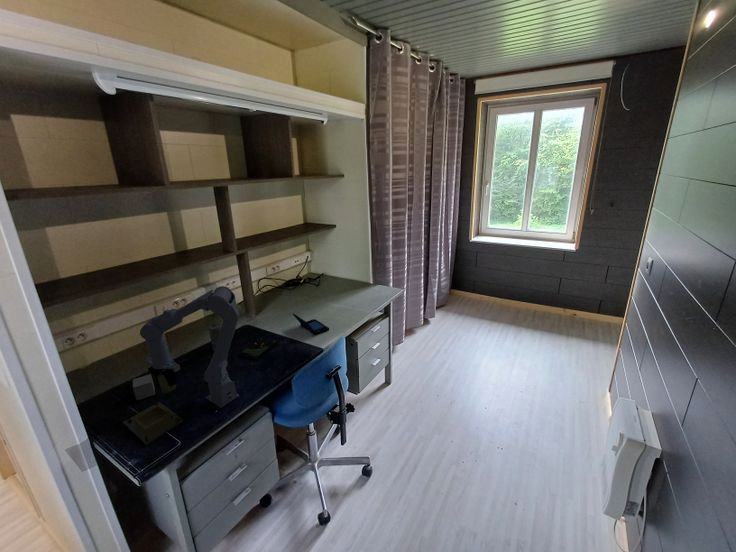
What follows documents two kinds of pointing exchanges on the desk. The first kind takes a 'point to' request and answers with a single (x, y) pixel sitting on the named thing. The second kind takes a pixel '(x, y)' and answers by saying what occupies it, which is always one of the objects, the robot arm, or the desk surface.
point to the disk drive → (259, 348)
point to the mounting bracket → (152, 422)
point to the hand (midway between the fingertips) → (167, 383)
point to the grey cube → (143, 387)
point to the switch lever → (165, 384)
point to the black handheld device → (312, 325)
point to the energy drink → (214, 334)
